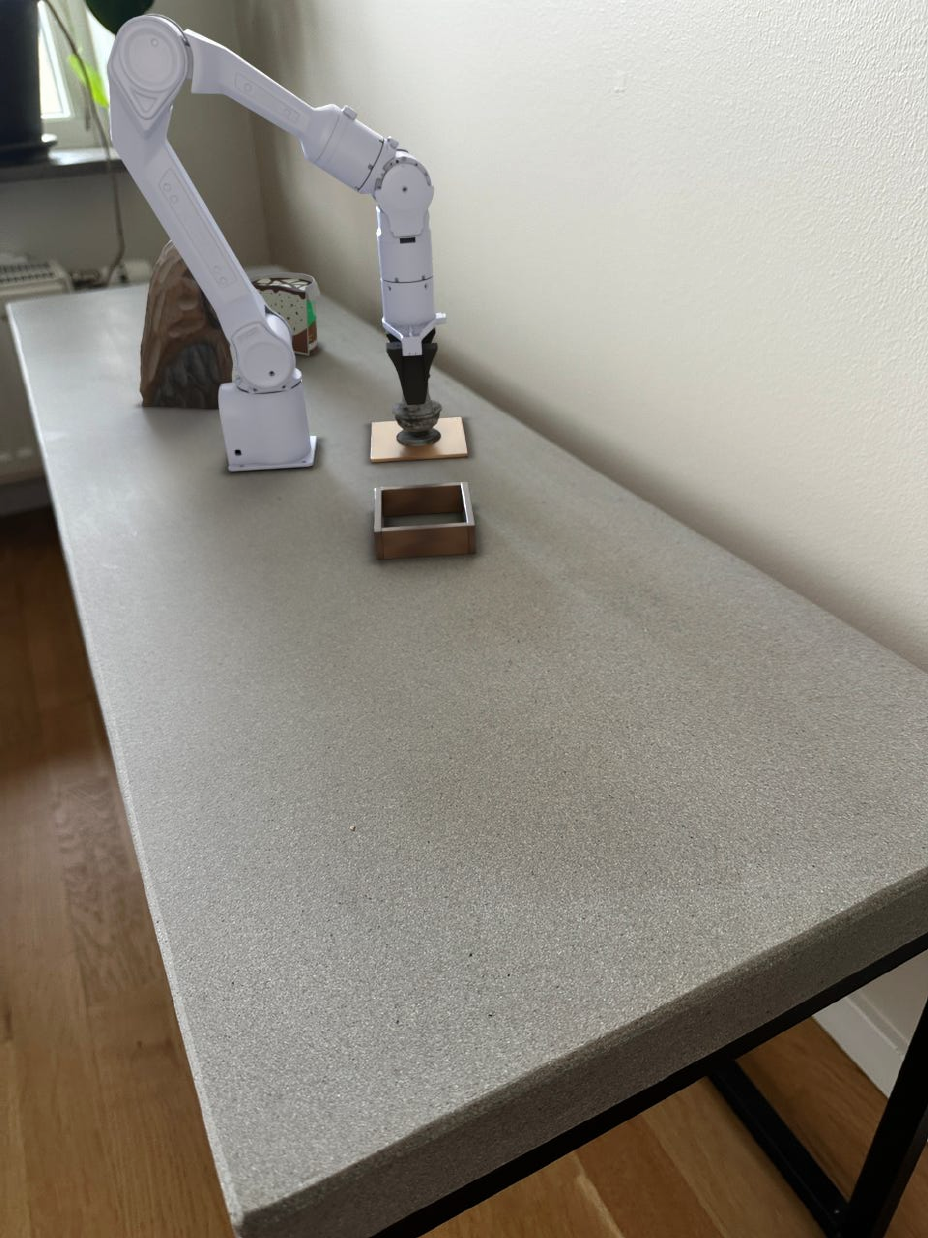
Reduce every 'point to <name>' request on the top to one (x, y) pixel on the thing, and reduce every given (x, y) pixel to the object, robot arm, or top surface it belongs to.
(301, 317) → the food container
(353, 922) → the top surface
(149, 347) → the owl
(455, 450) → the coaster
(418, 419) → the salt shaker
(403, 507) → the holder
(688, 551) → the top surface
